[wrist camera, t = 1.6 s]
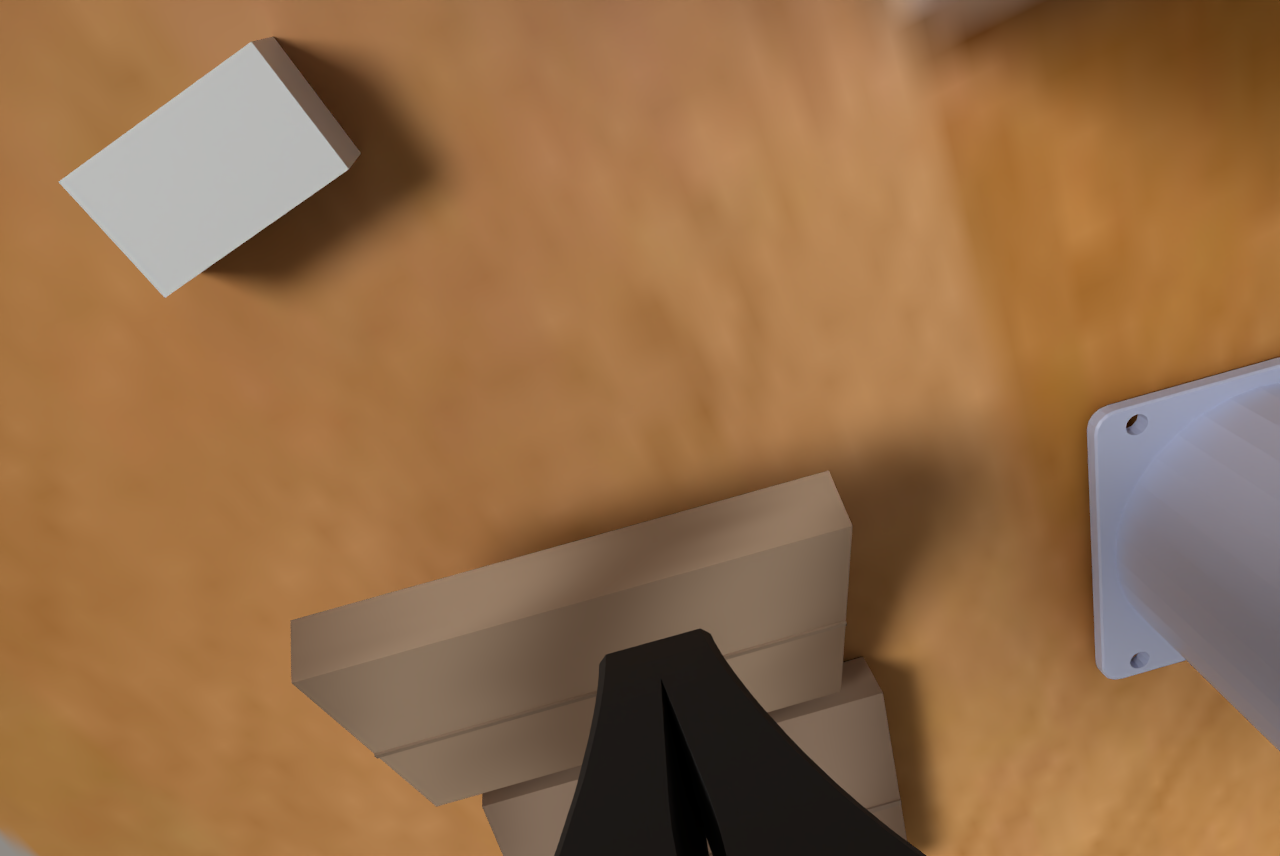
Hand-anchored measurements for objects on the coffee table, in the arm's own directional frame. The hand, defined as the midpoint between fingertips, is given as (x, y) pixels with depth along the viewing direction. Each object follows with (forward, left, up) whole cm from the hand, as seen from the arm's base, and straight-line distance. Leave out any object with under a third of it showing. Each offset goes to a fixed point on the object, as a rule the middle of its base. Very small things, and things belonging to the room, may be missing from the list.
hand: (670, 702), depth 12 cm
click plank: (+1, +4, -7) cm, 9 cm away
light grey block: (+5, -7, -10) cm, 13 cm away
